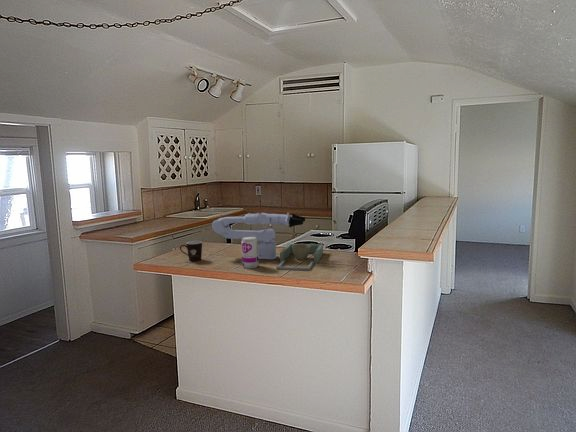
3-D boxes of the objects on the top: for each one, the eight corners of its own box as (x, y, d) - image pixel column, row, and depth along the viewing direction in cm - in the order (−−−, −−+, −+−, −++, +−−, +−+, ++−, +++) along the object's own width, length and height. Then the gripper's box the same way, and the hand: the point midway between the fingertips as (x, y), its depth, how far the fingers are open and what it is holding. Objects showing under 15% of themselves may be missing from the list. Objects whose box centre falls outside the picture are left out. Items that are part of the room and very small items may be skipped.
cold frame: (280, 262, 226) (279, 252, 226) (289, 252, 248) (288, 243, 247) (317, 263, 222) (316, 253, 221) (323, 253, 244) (322, 244, 243)
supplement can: (252, 269, 214) (251, 240, 211) (239, 267, 218) (238, 238, 216) (261, 265, 220) (260, 237, 218) (248, 263, 225) (247, 235, 222)
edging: (276, 269, 212) (276, 267, 212) (283, 262, 226) (282, 260, 225) (309, 270, 209) (309, 268, 209) (313, 263, 222) (313, 261, 222)
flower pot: (309, 261, 227) (308, 248, 226) (290, 260, 229) (290, 247, 228) (311, 256, 236) (311, 244, 235) (294, 256, 238) (293, 243, 237)
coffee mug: (206, 259, 237) (205, 241, 236) (196, 262, 229) (195, 244, 228) (189, 257, 242) (188, 240, 240) (179, 261, 234) (178, 243, 233)
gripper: (276, 214, 224) (302, 216, 222) (281, 209, 238) (306, 211, 236) (276, 227, 226) (301, 229, 223) (281, 222, 240) (305, 223, 237)
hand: (304, 220), depth 230 cm, fingers open, 7 cm apart
